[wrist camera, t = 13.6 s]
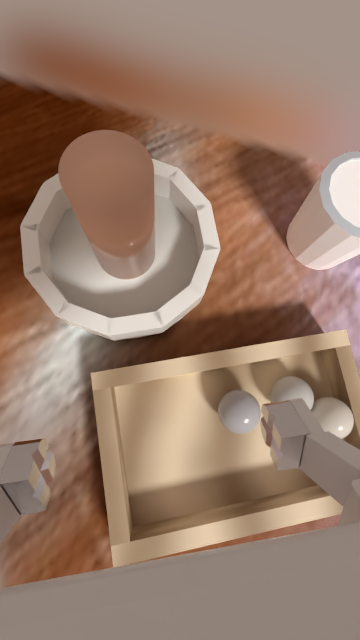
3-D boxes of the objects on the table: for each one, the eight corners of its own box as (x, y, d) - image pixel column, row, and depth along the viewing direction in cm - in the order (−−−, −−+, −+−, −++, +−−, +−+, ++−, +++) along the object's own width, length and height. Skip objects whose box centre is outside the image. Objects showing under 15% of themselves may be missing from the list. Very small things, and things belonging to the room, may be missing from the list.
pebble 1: (218, 441, 20) (262, 433, 19) (208, 396, 21) (249, 386, 20) (229, 433, 23) (268, 426, 22) (219, 393, 24) (257, 384, 23)
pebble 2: (330, 391, 21) (295, 369, 21) (312, 430, 21) (276, 408, 20) (304, 387, 24) (273, 367, 24) (287, 422, 23) (256, 402, 23)
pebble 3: (330, 393, 24) (356, 393, 21) (341, 432, 23) (369, 438, 21) (295, 400, 24) (317, 401, 21) (305, 440, 23) (329, 447, 20)
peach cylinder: (150, 222, 26) (146, 125, 16) (159, 274, 25) (161, 207, 15) (93, 229, 25) (53, 134, 16) (100, 283, 25) (63, 218, 15)
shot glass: (295, 194, 28) (339, 133, 21) (363, 226, 28) (429, 176, 21) (267, 255, 27) (305, 211, 20) (338, 289, 27) (400, 257, 20)
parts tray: (325, 335, 26) (345, 329, 23) (366, 487, 23) (394, 501, 21) (98, 374, 24) (90, 372, 21) (119, 544, 21) (113, 567, 19)
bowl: (193, 171, 28) (198, 145, 25) (225, 324, 25) (234, 315, 22) (31, 189, 26) (15, 163, 23) (46, 352, 24) (29, 348, 21)
